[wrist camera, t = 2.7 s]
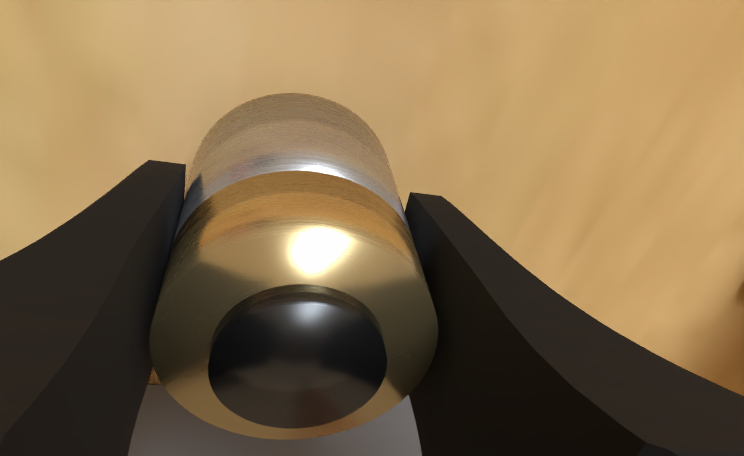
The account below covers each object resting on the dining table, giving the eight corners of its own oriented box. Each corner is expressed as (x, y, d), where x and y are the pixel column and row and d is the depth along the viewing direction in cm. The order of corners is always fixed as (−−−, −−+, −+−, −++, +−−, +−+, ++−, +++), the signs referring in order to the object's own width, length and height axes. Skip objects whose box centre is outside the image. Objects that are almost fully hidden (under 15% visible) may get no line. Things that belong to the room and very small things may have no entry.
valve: (410, 110, 11) (482, 269, 7) (368, 270, 14) (405, 464, 9) (197, 76, 11) (144, 236, 6) (188, 254, 13) (143, 459, 9)
